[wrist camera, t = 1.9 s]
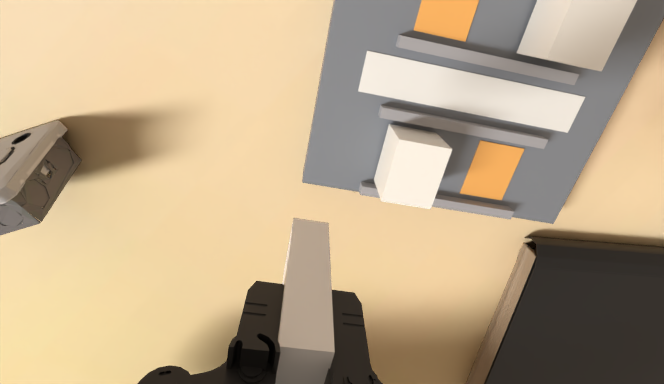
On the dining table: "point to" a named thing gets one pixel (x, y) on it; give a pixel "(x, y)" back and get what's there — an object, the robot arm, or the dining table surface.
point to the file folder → (577, 317)
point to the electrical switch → (33, 174)
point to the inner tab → (411, 166)
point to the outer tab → (575, 31)
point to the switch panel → (465, 100)
